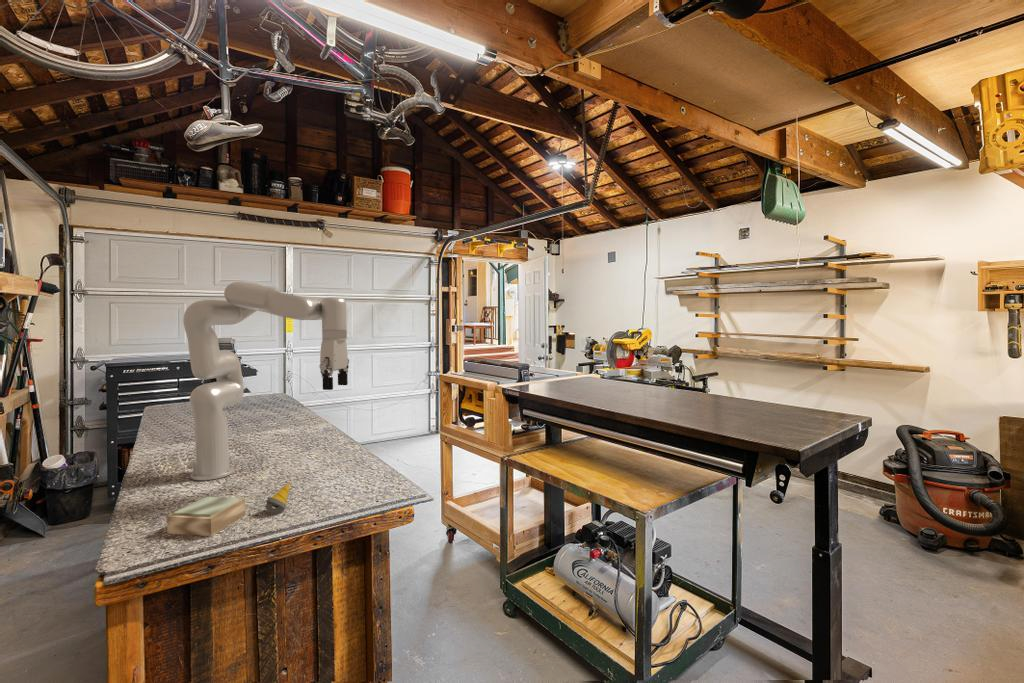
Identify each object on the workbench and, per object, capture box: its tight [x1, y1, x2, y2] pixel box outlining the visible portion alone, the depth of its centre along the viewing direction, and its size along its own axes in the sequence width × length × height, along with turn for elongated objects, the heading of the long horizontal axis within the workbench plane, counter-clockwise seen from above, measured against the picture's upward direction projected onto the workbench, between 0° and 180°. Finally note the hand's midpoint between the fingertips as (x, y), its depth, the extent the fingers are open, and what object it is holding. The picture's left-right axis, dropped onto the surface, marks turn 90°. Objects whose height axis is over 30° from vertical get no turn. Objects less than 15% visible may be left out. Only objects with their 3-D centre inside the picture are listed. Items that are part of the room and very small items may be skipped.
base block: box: [166, 496, 246, 537], centre depth 118 cm, size 12×12×5 cm
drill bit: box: [264, 481, 291, 516], centre depth 126 cm, size 5×5×10 cm
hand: (335, 387), depth 148 cm, fingers open, 9 cm apart
